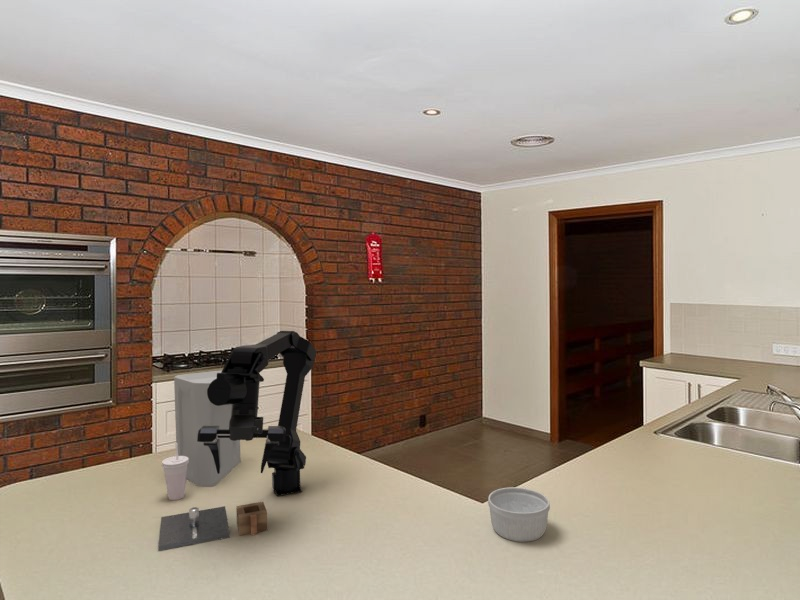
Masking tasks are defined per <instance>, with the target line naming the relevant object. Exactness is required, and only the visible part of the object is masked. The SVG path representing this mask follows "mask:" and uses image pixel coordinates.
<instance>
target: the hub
mask: <svg viewBox="0 0 800 600" xmlns="http://www.w3.org/2000/svg"><path fill="white" fill-rule="evenodd" d="M199 508H200V507H197V506H195V507H191V508H189V509H188V512H183V513H177V514H172V515H165V516H161V517H160V526H159V535H158V536H159V538H158V547H157V549H158V551H159V552H160V551H166V550H169V549H175V548H179V547H180V548H181V547H186V546H192V545H197V544H201V543H207V542H212V541H216V540H217V539H218V540H222V539H221V538H223V539H227V537H228V538H230V537H231V535H230V526H229V520H228V515H227V510H226V506H225V505H224V506H219V507H213V508H205V509H201V510H200V509H199Z"/></svg>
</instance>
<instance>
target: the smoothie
mask: <svg viewBox="0 0 800 600" xmlns="http://www.w3.org/2000/svg"><path fill="white" fill-rule="evenodd" d="M188 463H189V458H188V457H186V456H178V443H175V456H174V455H173V456H170V457H167V458H164V459H163V460H162V461H161V467H162V468H163V472H164V478H165V479H164V480H165V486H166V490H167V495H168V500H169V501H176V500H177V501H178V500H181V499H183V498H184V497H185V491H186V481H187V480H186V474H187V464H188Z"/></svg>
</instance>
